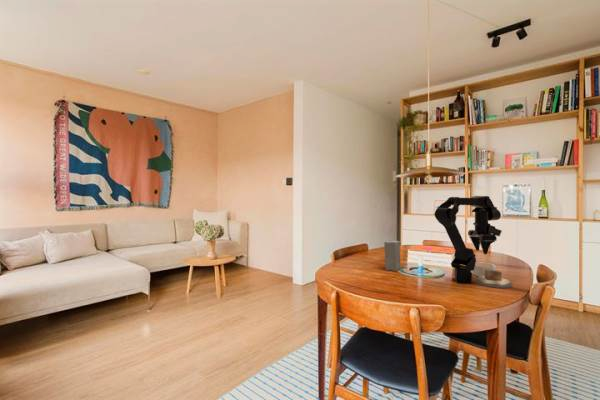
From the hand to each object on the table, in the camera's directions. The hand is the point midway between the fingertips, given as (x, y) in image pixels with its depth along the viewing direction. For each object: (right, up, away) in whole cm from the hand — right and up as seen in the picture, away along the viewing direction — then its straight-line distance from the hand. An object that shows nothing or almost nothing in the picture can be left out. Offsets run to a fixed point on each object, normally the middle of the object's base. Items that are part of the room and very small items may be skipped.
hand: (481, 252), depth 149 cm
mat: (+1, -13, -8) cm, 15 cm away
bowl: (+5, -13, +8) cm, 16 cm away
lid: (+1, -12, -8) cm, 15 cm away
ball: (+5, -10, +7) cm, 14 cm away
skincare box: (-38, -13, +20) cm, 45 cm away
